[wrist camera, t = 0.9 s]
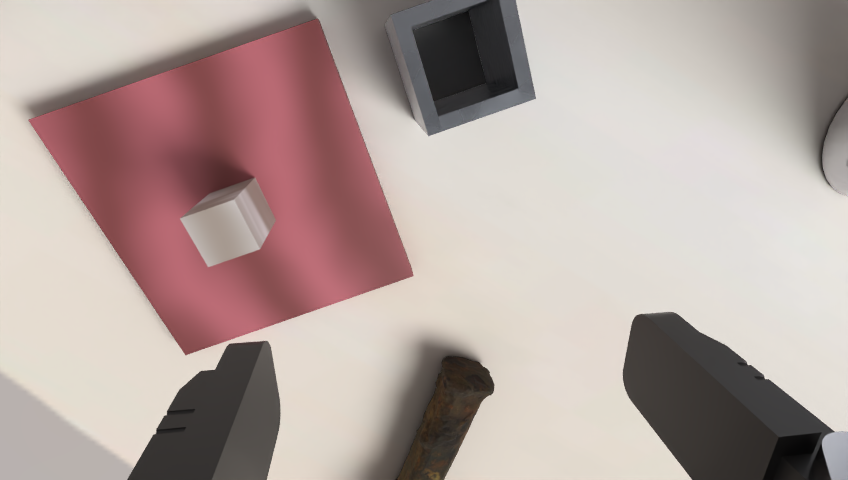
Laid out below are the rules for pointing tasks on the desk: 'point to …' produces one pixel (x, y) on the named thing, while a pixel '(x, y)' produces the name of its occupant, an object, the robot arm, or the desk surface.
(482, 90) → the square socket
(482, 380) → the hand tool
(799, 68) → the desk surface
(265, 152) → the post base
